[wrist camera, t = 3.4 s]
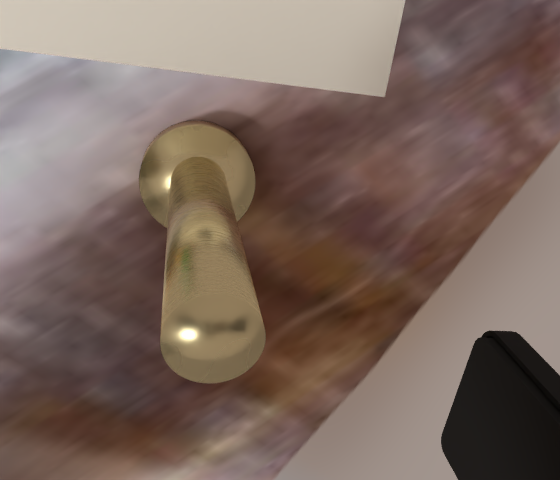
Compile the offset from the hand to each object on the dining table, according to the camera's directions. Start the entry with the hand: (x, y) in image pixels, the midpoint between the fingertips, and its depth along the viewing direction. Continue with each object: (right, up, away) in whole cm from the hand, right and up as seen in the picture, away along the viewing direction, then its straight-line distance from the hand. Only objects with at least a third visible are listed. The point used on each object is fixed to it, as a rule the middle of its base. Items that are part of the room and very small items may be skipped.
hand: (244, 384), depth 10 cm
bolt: (-3, +6, +14) cm, 15 cm away
